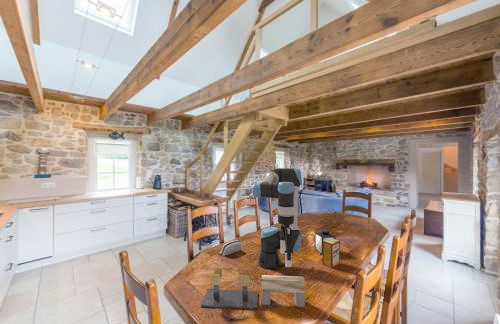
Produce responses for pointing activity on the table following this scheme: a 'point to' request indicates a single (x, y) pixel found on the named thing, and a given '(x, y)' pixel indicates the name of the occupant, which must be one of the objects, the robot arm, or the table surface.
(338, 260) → the baking soda box
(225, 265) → the table surface
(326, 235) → the lantern
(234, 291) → the bracket stand
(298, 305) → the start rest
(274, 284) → the beige long block
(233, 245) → the grey curved block
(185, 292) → the table surface
